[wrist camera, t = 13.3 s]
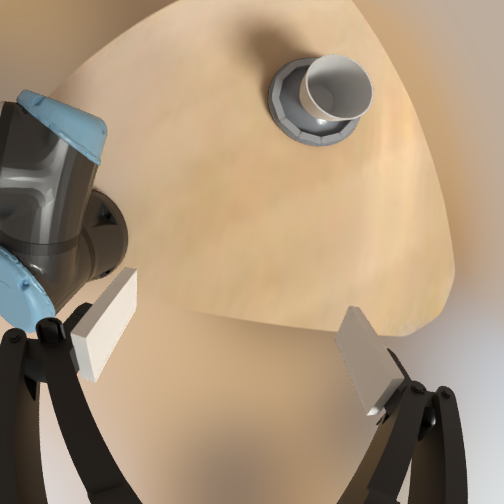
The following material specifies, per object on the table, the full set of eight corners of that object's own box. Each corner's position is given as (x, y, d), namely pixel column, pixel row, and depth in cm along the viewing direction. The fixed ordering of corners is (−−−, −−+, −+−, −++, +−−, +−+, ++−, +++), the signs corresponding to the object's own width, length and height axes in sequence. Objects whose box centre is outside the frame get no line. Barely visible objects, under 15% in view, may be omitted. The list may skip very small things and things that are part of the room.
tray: (258, 133, 37) (259, 132, 35) (278, 50, 32) (280, 45, 30) (348, 157, 38) (353, 157, 36) (364, 77, 34) (370, 74, 32)
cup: (353, 113, 35) (384, 104, 25) (308, 136, 36) (330, 131, 27) (325, 67, 32) (349, 46, 23) (279, 89, 33) (291, 69, 24)
